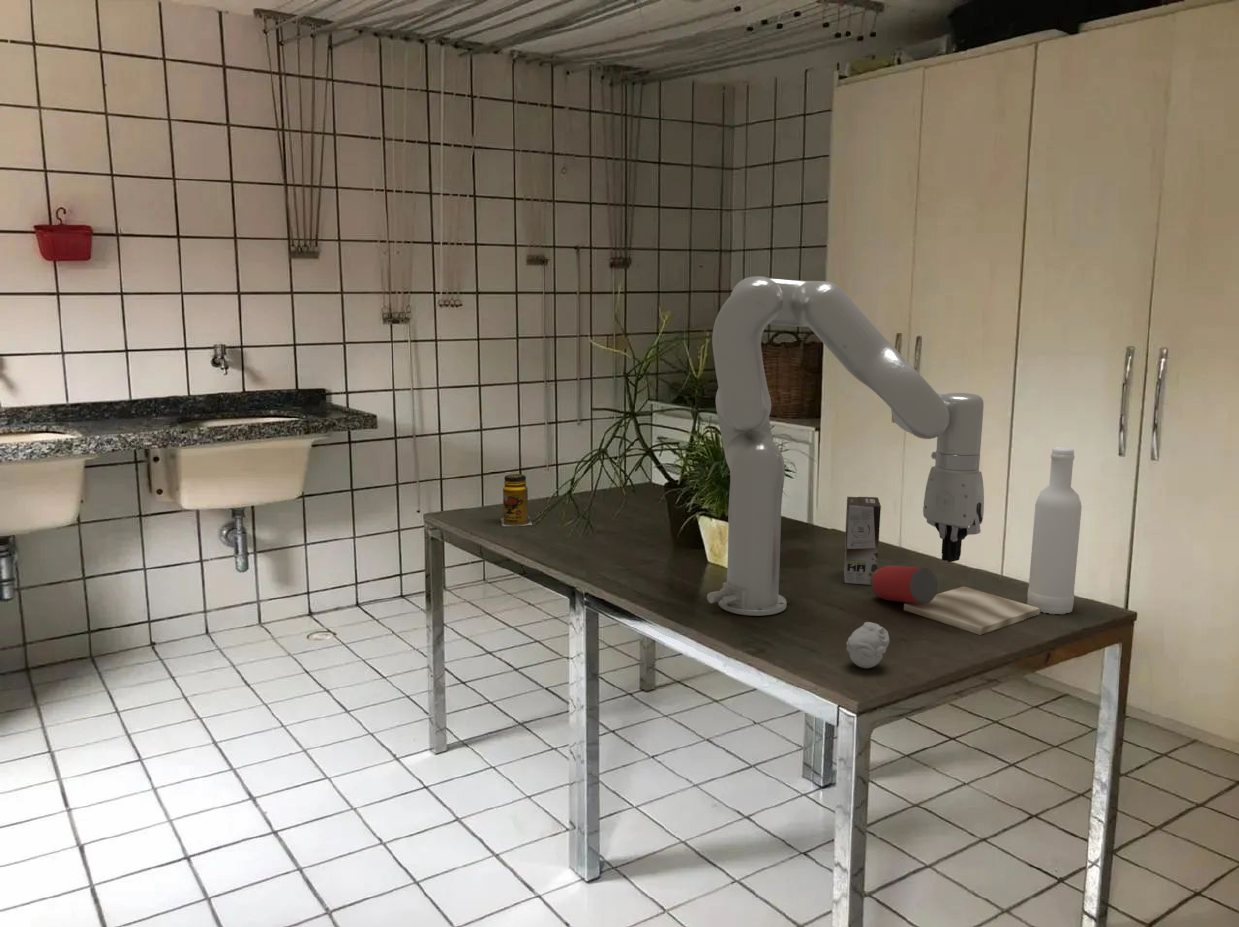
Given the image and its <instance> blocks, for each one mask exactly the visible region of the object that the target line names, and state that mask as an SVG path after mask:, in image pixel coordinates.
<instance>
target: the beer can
mask: <svg viewBox="0 0 1239 927" xmlns="http://www.w3.org/2000/svg"><path fill="white" fill-rule="evenodd" d="M870 584H871V585H870V589H871V591H872V592H873V594H874V595H875V596H877V597H878V598H881V599H883V600H884V601H891V602H898V603H899V602H901V603H917V604H926V603H929V602H930V601H931V600H933V598H934V597H935V595H936V594H937V591H938V587H939V586H938V579H937V577H936V575H935V574H934V572H933V571H932V570H931V569H929V568H928V567H922V566H921V567H920V566H902V565H901V566H900V565H886V566H882V567H880V568H877V570H876V571H875V572H874V573H873V574H872V577H871V582H870Z"/></svg>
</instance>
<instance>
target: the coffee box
mask: <svg viewBox="0 0 1239 927" xmlns="http://www.w3.org/2000/svg"><path fill="white" fill-rule="evenodd" d="M881 510H882V505H881V503H880V500H879V497H878V496H877V497H876V496H847V498H846V510H845V511H846V515H845V516H846V518H845V535H844V536H845V539H844V540H845V541H844V556H843V558H844V562H843V563H844V564H843V565H844V566H843V575H844V583H845V584H852V585H853V584H856V585H867V586H868V585H869V586H871V584H870V582H871V577H872V574H873V573H874V572H875V571H876V570H877V569H878V562H879V560H878V559H879V542H880V526H881Z"/></svg>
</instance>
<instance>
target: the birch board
mask: <svg viewBox="0 0 1239 927" xmlns="http://www.w3.org/2000/svg"><path fill="white" fill-rule="evenodd" d="M903 611H906V612H909V613H912V614H915V615H918V616H921V617H925V618H927V619H930V620H933V621H936V622H940V623H943V624H945V625H948V626H952V627H955V628H957V629H961V630H964V631H967V632H970V633H973V634H976V635H980V636H981V635H983V634H988V633H990V632H993V631H995V630H998V629H1001V628H1004V627H1008V626H1010V625H1013V624H1016V623H1019V622H1022V621H1025V620H1028V619H1031V618H1034V617H1037V616H1039V615H1040V613H1041V612H1040V608H1037V607H1034V606H1030V605H1027V603H1022V602H1019V601H1016V600H1012V599H1009V598H1005V597H1002V596H998V595H995V594H991V593H987V592H984V591H981V590H979V589H978V590H977V589H974V588H972V587H968V586H964V585H963V586H961V587H957V588H954V589H949V590H947V591H943V592H941V593H940V592H939V593H936V595H935V597H934V598H933V600H931V601H930V602H929V603H926V604H917V603H908V602H904V603H903ZM1036 615H1037V616H1036ZM1033 616H1034V617H1033ZM1030 617H1031V618H1030ZM1027 618H1028V619H1027Z"/></svg>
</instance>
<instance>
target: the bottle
mask: <svg viewBox="0 0 1239 927" xmlns="http://www.w3.org/2000/svg"><path fill="white" fill-rule="evenodd" d="M1051 450H1052V451H1051V453H1050V458H1051V461H1050V470H1049V471H1050V474H1049V482H1048V483H1049V485H1047V486H1046V487H1045V488H1043V490H1041V491H1040V492H1039V495H1038V497H1037V499H1036V502H1035V504H1034V517H1033V530H1032V544H1031V553H1030V555H1031V556H1030V567H1029V579H1028V580H1029V581H1028V589H1027V594H1026V595H1027V598H1026V599H1027V603H1026V604H1027V605H1030V606H1034V607H1037V608H1040V613H1041V612H1043V613H1042V614H1046V613H1049V614H1048V615H1055V614H1060V615H1067V614H1066V613H1068V614H1070V613H1071V612H1073V607H1074V603H1075V602H1074V601H1075V584H1076V572H1077V562H1078V554H1079V553H1078V551H1079V540H1080V530H1081V529H1080V528H1081V520H1082V518H1081V517H1082V509H1083V508H1082V503H1081V502H1082V501H1081V498H1080V496H1079V494H1078V493H1077V491H1075V490H1074V488H1073V487H1072V478H1073V465H1074V460H1075V449H1074V448H1073V447H1067V446H1054V447H1053V448H1052V449H1051Z"/></svg>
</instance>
